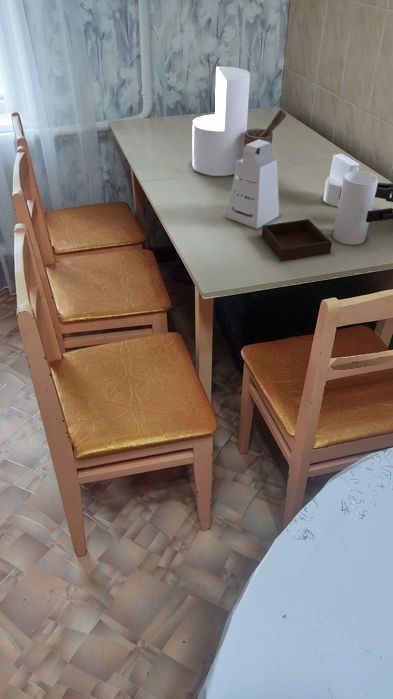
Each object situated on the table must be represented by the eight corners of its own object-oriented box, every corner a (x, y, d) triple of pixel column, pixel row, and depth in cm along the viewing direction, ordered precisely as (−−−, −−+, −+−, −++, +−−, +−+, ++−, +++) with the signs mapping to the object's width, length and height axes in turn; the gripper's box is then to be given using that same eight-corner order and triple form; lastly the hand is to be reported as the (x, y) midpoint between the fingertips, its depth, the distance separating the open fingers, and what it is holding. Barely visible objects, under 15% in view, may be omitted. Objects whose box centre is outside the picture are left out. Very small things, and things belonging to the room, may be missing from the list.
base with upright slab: (360, 203, 158) (369, 162, 150) (334, 208, 155) (341, 167, 147) (342, 191, 164) (350, 152, 156) (317, 196, 161) (323, 156, 154)
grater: (226, 217, 150) (229, 144, 138) (248, 204, 157) (253, 134, 144) (256, 228, 145) (263, 154, 132) (279, 215, 151) (286, 143, 139)
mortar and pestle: (272, 167, 179) (278, 103, 166) (282, 177, 172) (289, 111, 159) (238, 170, 176) (242, 106, 163) (247, 181, 170) (252, 114, 157)
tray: (306, 230, 145) (308, 218, 142) (329, 253, 135) (332, 242, 133) (261, 236, 142) (262, 225, 140) (281, 261, 132) (282, 249, 130)
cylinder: (238, 155, 187) (243, 65, 169) (249, 174, 174) (255, 79, 156) (189, 157, 185) (188, 67, 167) (195, 177, 172) (196, 81, 154)
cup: (329, 230, 145) (339, 171, 134) (358, 228, 145) (371, 170, 135) (338, 245, 138) (350, 185, 128) (369, 243, 139) (383, 183, 129)
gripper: (452, 230, 134) (376, 241, 129) (396, 190, 152) (327, 199, 148) (462, 201, 129) (383, 212, 124) (402, 163, 148) (332, 172, 143)
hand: (353, 205), depth 136 cm, fingers open, 13 cm apart
